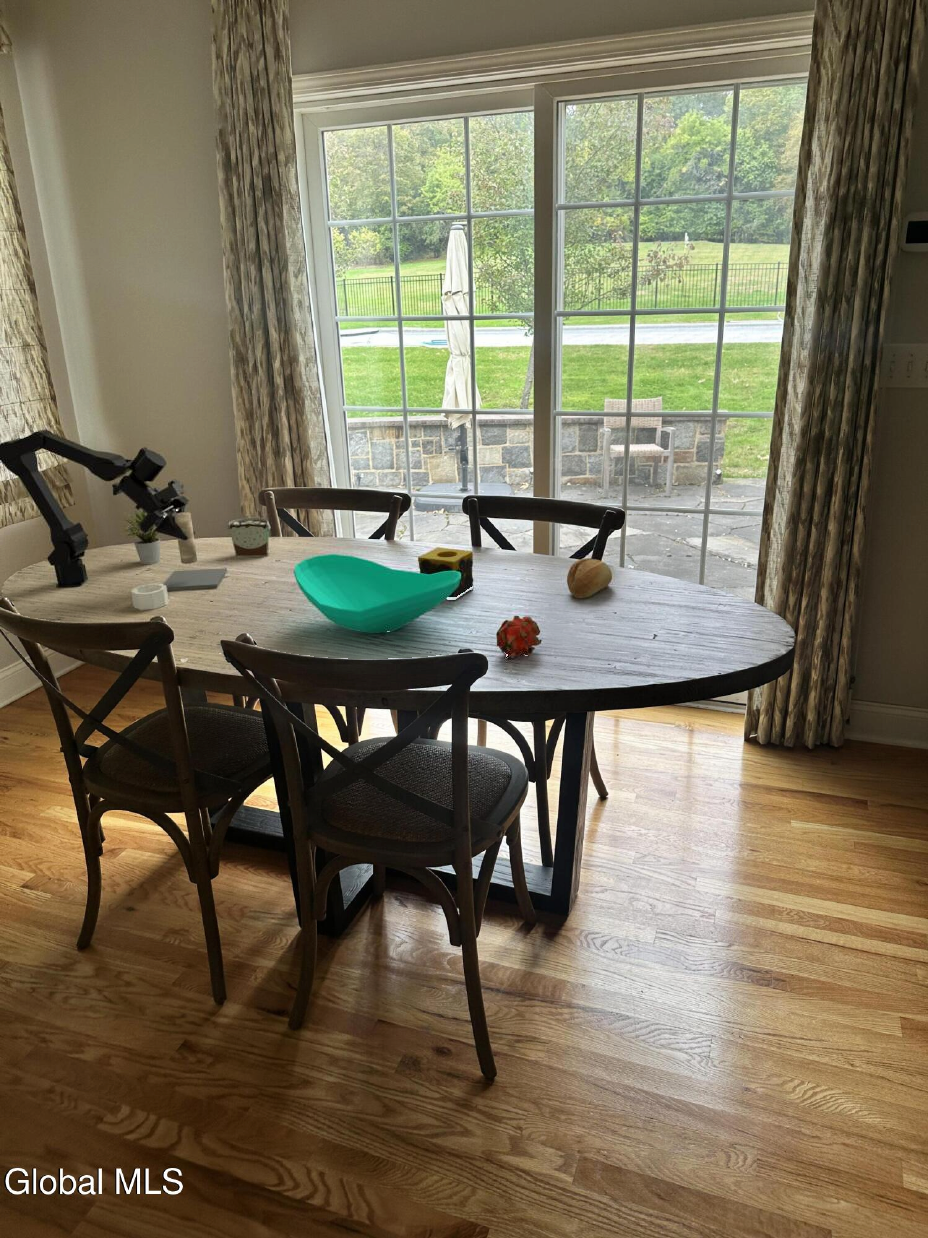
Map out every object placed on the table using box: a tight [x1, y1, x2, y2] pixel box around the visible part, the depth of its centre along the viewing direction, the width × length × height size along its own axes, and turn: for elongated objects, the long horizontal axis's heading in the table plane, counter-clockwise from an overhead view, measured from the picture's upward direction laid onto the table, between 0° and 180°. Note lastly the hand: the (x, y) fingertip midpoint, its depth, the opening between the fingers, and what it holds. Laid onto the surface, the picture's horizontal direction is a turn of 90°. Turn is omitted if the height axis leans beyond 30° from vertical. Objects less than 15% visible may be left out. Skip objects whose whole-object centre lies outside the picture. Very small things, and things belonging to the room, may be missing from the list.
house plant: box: [118, 509, 162, 565], centre depth 242 cm, size 14×14×16 cm
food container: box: [227, 517, 271, 557], centre depth 246 cm, size 12×6×10 cm, turn 84°
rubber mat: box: [162, 567, 228, 592], centre depth 225 cm, size 14×14×1 cm
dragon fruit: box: [495, 615, 542, 659], centre depth 171 cm, size 8×8×12 cm
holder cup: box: [130, 582, 170, 611], centre depth 208 cm, size 8×8×4 cm
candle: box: [417, 546, 474, 597], centre depth 208 cm, size 10×10×10 cm
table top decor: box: [293, 553, 461, 634], centre depth 187 cm, size 40×28×13 cm
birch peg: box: [174, 511, 198, 565], centre depth 219 cm, size 4×4×12 cm
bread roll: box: [566, 557, 613, 599], centre depth 205 cm, size 10×15×8 cm, turn 150°
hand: (190, 536), depth 219 cm, fingers closed on birch peg, 4 cm apart
